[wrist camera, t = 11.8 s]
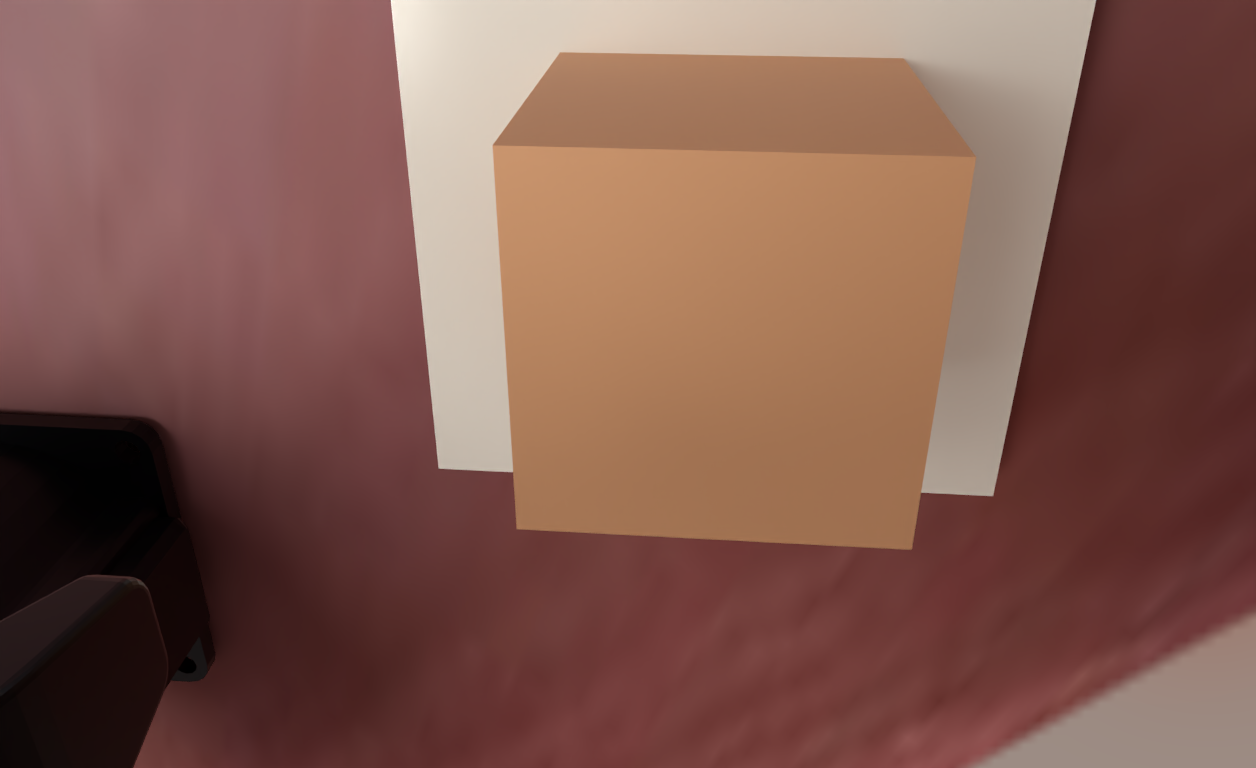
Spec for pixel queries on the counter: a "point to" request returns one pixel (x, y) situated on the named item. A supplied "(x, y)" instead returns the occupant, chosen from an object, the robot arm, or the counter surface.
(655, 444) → the terracotta block
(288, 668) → the counter surface
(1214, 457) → the counter surface
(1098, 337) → the counter surface
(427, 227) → the ceramic coaster
